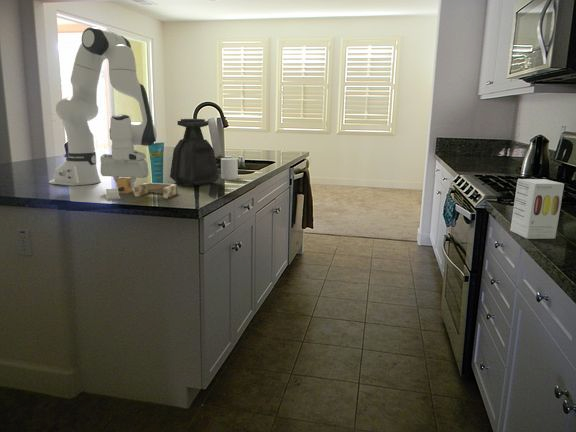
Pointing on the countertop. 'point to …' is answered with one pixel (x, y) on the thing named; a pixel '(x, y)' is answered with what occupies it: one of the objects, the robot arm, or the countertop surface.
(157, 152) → the tube
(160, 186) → the end holder
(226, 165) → the cup
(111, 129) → the robot arm
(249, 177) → the countertop surface
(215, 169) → the dark grey vase
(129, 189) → the connector
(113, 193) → the guide clip
